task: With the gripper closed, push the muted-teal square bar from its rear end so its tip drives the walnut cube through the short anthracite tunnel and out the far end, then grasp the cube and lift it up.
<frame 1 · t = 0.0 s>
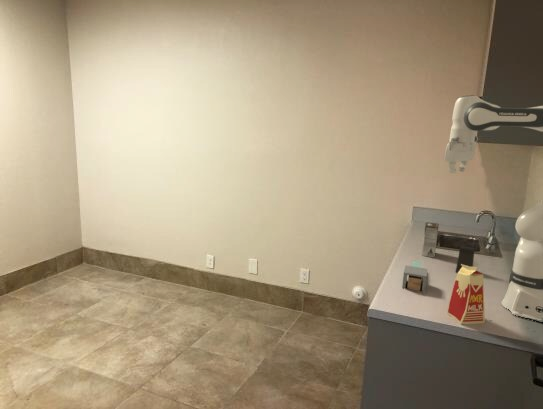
hand: (457, 172, 160), 48 cm above the worktop, fingers open, 8 cm apart
cube: (413, 287, 164), on the worktop
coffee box: (428, 254, 207), on the worktop
phone stand: (464, 271, 184), on the worktop
tunnel: (414, 285, 166), on the worktop
milk carton: (464, 318, 140), on the worktop
bar: (415, 277, 176), on the worktop
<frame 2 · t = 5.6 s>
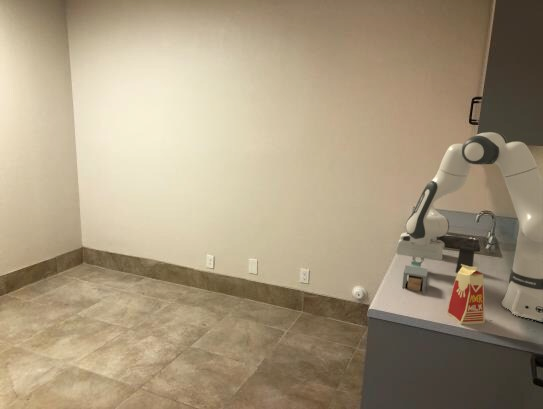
hand: (417, 265, 184), 2 cm above the worktop, fingers closed
bar: (414, 276, 176), on the worktop, touching gripper
everything else where it was.
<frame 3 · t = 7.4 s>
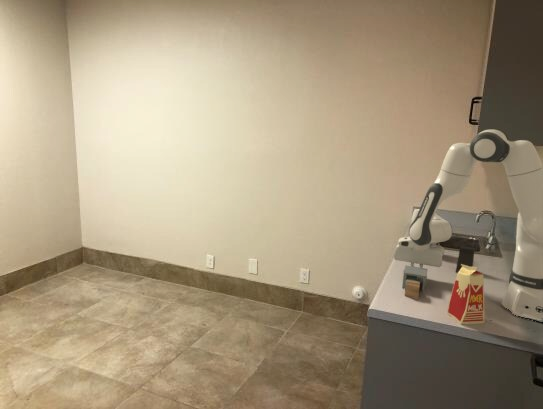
hand: (415, 272, 176), 2 cm above the worktop, fingers closed
cube: (411, 294, 157), on the worktop
bar: (411, 284, 168), on the worktop, touching gripper
everything else where it was.
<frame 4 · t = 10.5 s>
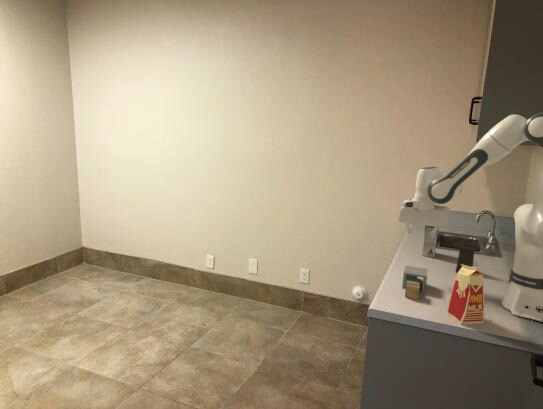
hand: (420, 234, 174), 19 cm above the worktop, fingers open, 8 cm apart
cube: (411, 295, 156), on the worktop
bar: (411, 285, 167), on the worktop
everything else where it was.
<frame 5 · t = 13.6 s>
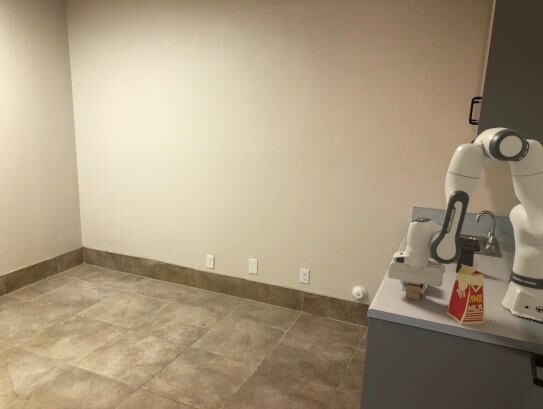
hand: (412, 292, 155), 2 cm above the worktop, fingers closed on cube, 5 cm apart
cube: (412, 295, 156), on the worktop, touching gripper
everything else where it was.
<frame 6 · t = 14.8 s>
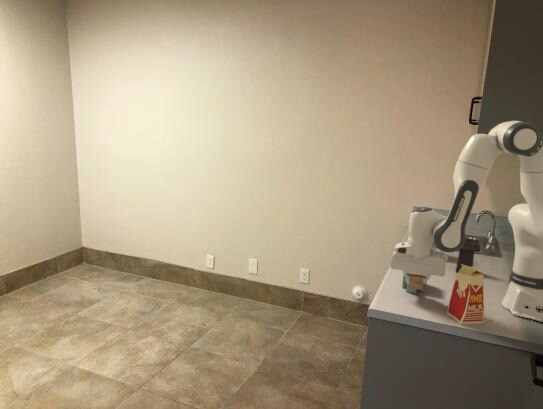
hand: (415, 282, 155), 6 cm above the worktop, fingers closed on cube, 5 cm apart
cube: (415, 287, 155), point 4 cm above the worktop, touching gripper
everything else where it was.
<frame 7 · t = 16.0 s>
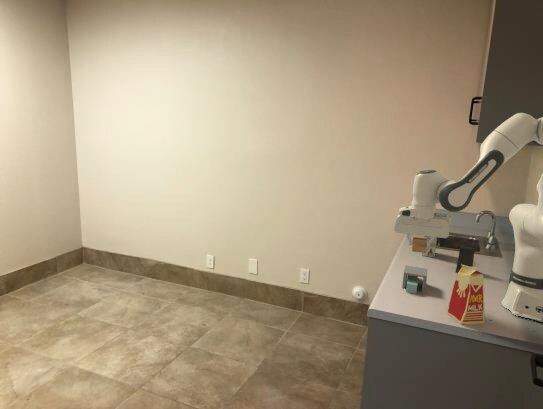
hand: (419, 245, 156), 20 cm above the worktop, fingers closed on cube, 5 cm apart
cube: (418, 250, 156), point 18 cm above the worktop, touching gripper
everything else where it was.
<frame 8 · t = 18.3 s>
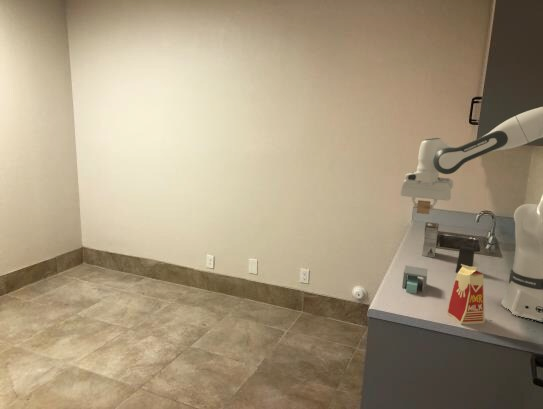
hand: (423, 208, 170), 31 cm above the worktop, fingers closed on cube, 5 cm apart
cube: (422, 212, 170), point 29 cm above the worktop, touching gripper
everything else where it was.
at the end: the gripper is holding cube; cube point 29.2 cm above the worktop; cube moved 32.2 cm from its start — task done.
